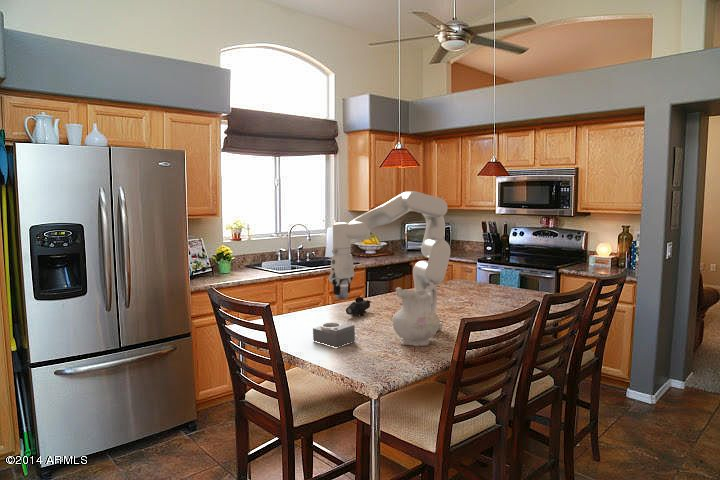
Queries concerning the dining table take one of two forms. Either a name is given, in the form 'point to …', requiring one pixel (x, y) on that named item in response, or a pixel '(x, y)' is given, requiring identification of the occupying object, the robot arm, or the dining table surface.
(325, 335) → the grey ring-socket block
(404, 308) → the ceramic pitcher
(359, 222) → the robot arm
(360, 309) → the night vision scope
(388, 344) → the dining table surface
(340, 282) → the lens
